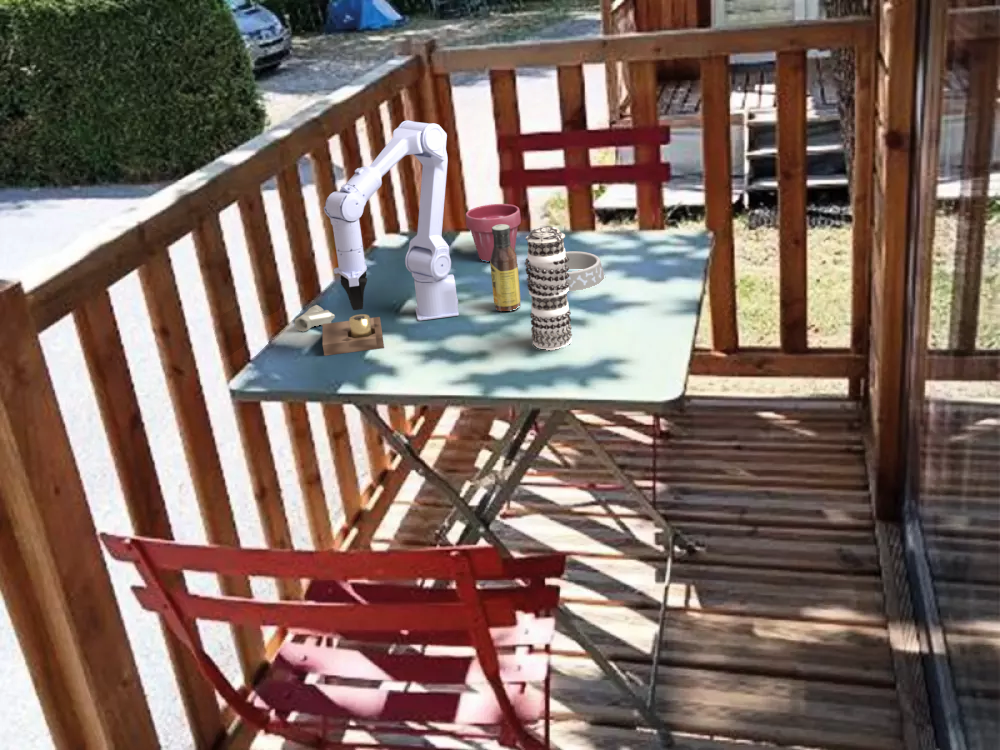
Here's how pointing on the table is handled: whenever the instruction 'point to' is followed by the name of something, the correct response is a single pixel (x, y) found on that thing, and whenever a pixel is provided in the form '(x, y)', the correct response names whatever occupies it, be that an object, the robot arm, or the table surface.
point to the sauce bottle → (504, 270)
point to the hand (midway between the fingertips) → (357, 307)
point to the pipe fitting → (313, 318)
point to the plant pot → (491, 225)
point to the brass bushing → (360, 326)
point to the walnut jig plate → (350, 338)
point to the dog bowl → (588, 275)
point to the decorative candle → (548, 288)
